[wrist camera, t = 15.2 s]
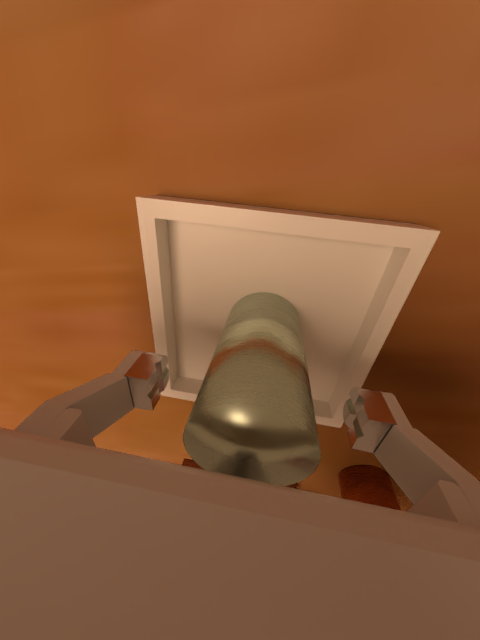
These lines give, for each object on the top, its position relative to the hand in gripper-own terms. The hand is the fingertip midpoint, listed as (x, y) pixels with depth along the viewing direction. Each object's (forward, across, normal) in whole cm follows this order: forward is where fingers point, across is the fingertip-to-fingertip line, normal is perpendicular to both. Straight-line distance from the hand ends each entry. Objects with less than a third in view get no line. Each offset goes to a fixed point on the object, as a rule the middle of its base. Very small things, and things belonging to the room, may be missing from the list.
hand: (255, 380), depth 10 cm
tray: (+6, 0, 0) cm, 6 cm away
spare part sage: (+5, 0, 0) cm, 5 cm away
